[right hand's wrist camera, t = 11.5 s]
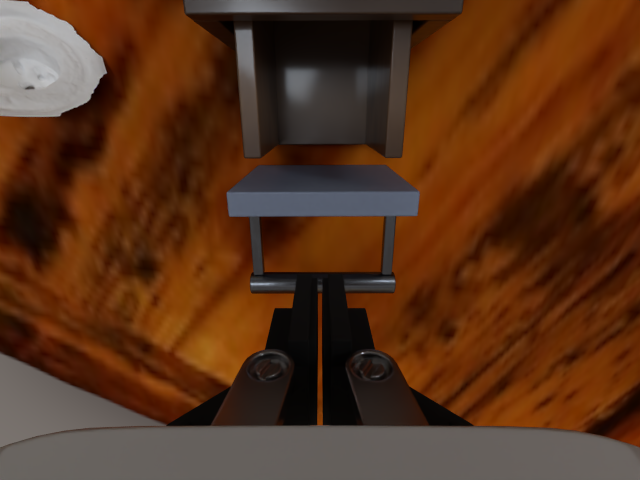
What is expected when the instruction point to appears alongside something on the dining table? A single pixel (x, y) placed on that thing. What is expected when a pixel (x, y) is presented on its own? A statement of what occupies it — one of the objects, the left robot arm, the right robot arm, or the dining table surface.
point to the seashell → (43, 63)
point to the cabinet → (321, 13)
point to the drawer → (323, 130)
